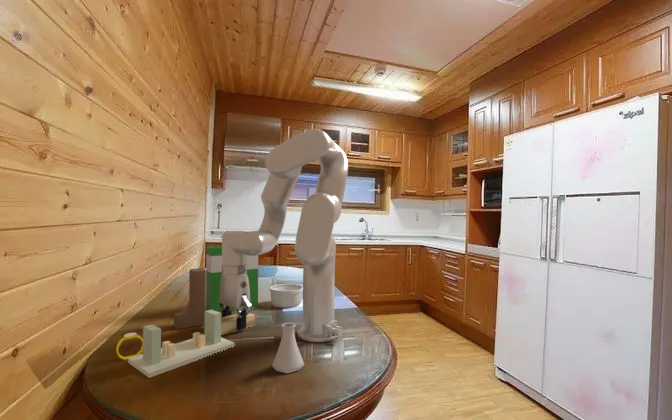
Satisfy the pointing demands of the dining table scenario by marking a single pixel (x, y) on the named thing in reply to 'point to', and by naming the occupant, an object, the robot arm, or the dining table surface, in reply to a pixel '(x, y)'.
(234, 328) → the tan wooden bar
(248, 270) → the green cereal box
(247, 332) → the dining table surface
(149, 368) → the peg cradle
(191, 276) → the wooden block
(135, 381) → the dining table surface
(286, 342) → the flask
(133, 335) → the watch
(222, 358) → the dining table surface
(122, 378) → the dining table surface
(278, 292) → the ramekin
